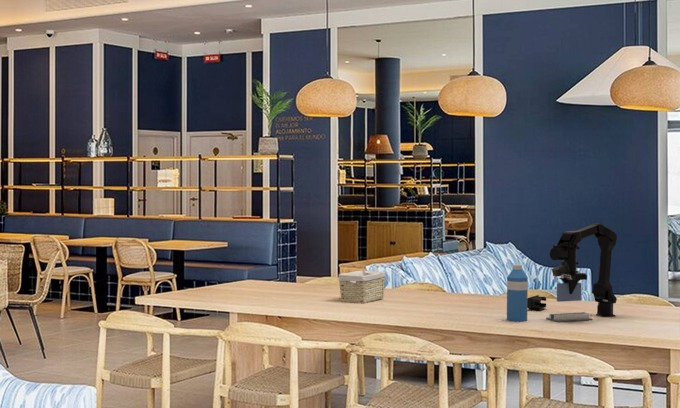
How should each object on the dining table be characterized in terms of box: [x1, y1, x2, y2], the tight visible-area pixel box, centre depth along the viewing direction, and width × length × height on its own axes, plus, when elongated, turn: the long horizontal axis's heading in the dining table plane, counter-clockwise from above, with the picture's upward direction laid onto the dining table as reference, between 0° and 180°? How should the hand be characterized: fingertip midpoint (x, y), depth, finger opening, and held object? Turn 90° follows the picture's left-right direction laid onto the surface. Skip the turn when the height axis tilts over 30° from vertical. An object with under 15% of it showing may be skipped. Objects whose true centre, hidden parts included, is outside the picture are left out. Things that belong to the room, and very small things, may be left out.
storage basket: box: [338, 269, 386, 304], centre depth 492 cm, size 24×16×15 cm
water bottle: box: [506, 264, 529, 323], centre depth 424 cm, size 9×9×25 cm
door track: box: [545, 311, 593, 323], centre depth 426 cm, size 18×10×3 cm, turn 111°
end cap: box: [527, 295, 547, 312], centre depth 459 cm, size 10×7×7 cm
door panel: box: [556, 282, 582, 303], centre depth 425 cm, size 12×2×8 cm, turn 110°
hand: (569, 293), depth 426 cm, fingers closed on door panel, 2 cm apart
